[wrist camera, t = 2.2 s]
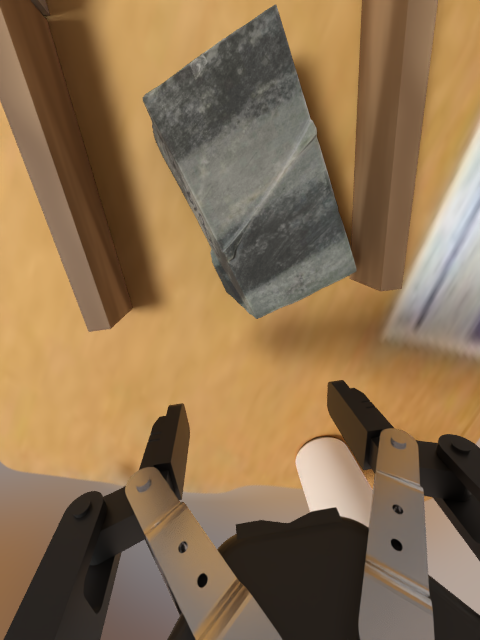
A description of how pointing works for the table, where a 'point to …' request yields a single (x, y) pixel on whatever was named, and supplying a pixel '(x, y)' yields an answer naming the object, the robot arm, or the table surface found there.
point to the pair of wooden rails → (80, 188)
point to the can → (334, 479)
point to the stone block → (253, 168)
